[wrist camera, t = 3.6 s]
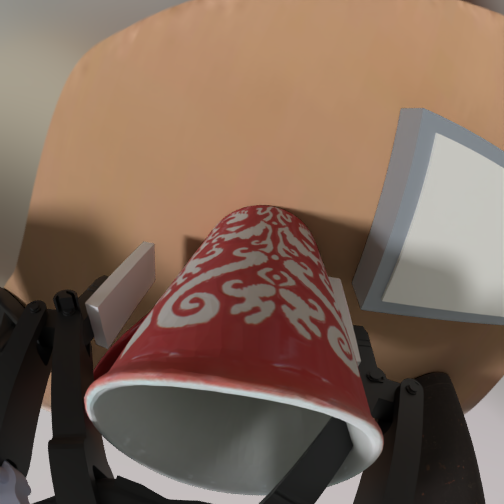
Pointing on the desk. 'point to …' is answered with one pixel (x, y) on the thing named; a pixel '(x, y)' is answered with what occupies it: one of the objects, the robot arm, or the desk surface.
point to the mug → (237, 364)
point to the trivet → (437, 226)
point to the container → (446, 448)
